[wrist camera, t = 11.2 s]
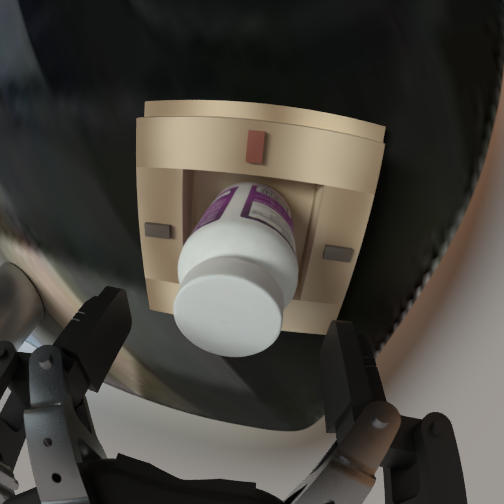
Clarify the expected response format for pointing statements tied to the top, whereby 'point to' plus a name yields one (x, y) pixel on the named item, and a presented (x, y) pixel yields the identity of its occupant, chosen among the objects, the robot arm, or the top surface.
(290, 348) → the top surface
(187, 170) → the holder
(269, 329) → the pill bottle
